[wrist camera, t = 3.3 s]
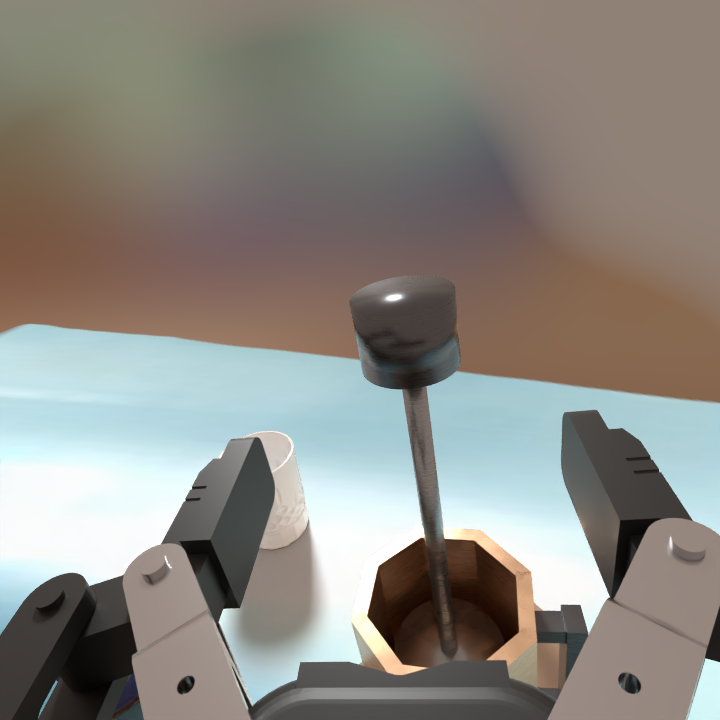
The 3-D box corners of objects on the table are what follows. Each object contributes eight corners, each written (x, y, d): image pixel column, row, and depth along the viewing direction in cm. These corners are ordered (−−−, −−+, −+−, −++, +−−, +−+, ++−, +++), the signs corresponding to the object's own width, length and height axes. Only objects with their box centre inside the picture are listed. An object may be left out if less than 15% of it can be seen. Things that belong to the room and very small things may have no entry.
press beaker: (462, 876, 27) (439, 747, 21) (365, 715, 35) (326, 585, 29) (589, 741, 32) (603, 600, 25) (477, 625, 39) (465, 495, 33)
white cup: (328, 518, 54) (309, 445, 49) (272, 568, 49) (245, 493, 45) (283, 490, 59) (262, 422, 55) (229, 533, 55) (201, 463, 50)
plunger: (444, 740, 25) (379, 350, 15) (375, 644, 30) (290, 302, 20) (530, 663, 28) (527, 284, 17) (454, 586, 33) (415, 256, 22)
